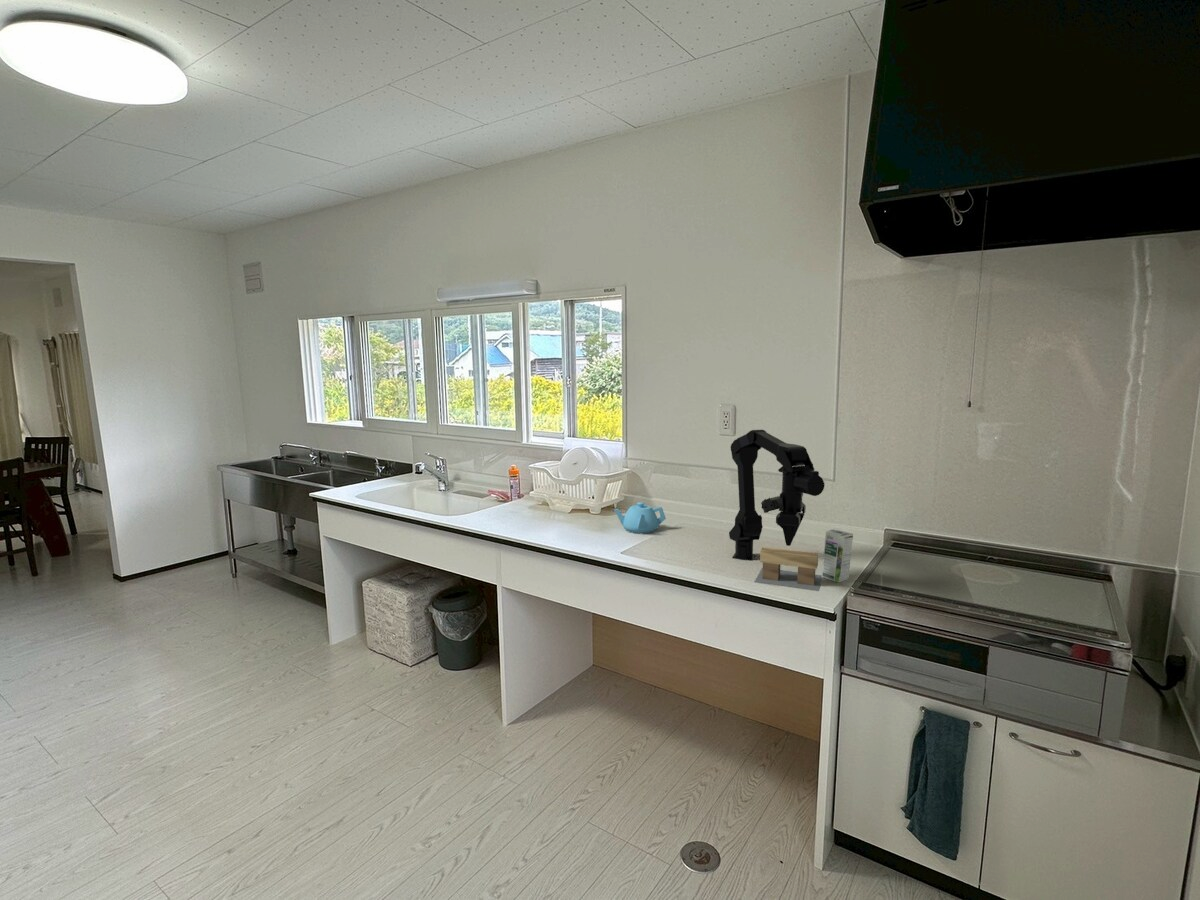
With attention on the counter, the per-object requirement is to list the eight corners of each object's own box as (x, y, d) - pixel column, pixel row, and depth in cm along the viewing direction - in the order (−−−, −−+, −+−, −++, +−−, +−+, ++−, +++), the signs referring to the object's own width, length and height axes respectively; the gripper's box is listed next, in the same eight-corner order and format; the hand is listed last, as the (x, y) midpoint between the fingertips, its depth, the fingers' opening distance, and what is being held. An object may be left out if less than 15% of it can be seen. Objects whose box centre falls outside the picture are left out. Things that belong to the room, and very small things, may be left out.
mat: (762, 568, 193) (762, 567, 192) (822, 576, 185) (822, 575, 185) (754, 583, 180) (754, 582, 180) (818, 592, 173) (818, 591, 173)
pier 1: (764, 574, 187) (765, 558, 186) (780, 576, 185) (780, 560, 184) (762, 578, 183) (762, 562, 182) (777, 580, 181) (778, 564, 180)
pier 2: (799, 578, 183) (799, 562, 182) (815, 580, 181) (815, 564, 180) (797, 583, 178) (797, 567, 178) (813, 585, 177) (814, 569, 176)
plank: (762, 558, 186) (762, 547, 185) (817, 564, 180) (818, 553, 179) (760, 562, 182) (760, 550, 182) (816, 568, 176) (817, 557, 176)
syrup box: (820, 577, 184) (825, 530, 181) (832, 573, 187) (837, 527, 185) (837, 583, 179) (842, 535, 177) (849, 579, 182) (854, 532, 180)
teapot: (641, 537, 228) (641, 509, 226) (612, 529, 239) (612, 502, 237) (667, 529, 238) (668, 502, 237) (639, 522, 249) (639, 496, 248)
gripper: (768, 481, 189) (767, 530, 192) (758, 493, 173) (756, 546, 175) (806, 484, 185) (804, 534, 187) (799, 496, 168) (797, 551, 170)
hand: (790, 541), depth 180 cm, fingers open, 9 cm apart
